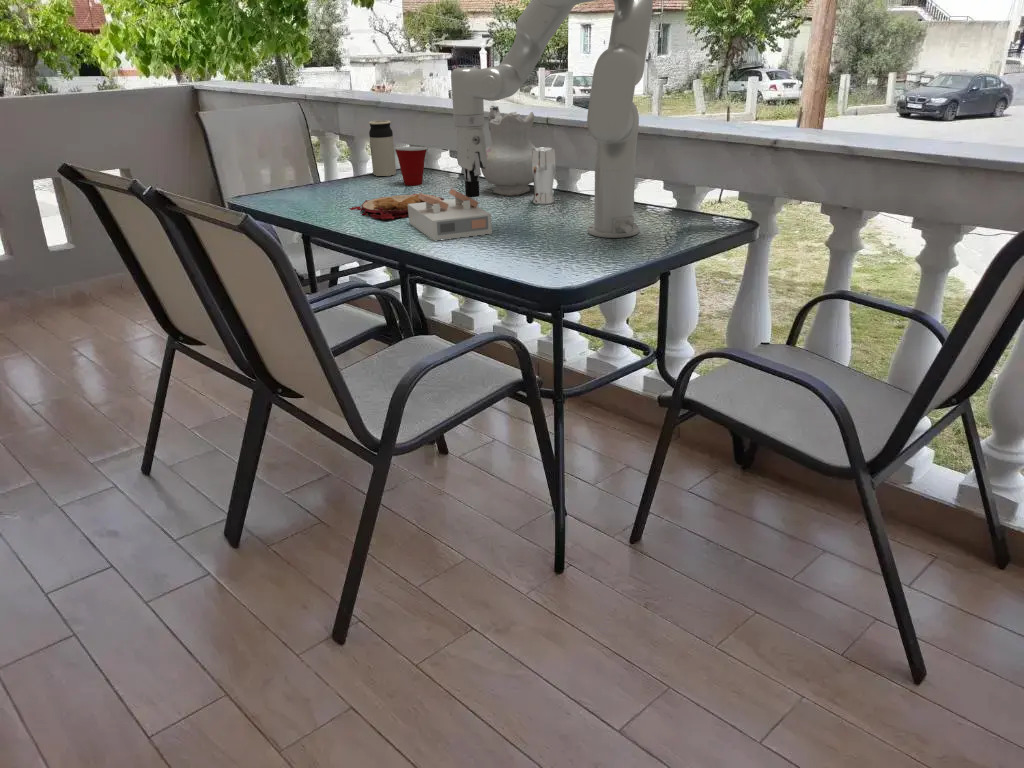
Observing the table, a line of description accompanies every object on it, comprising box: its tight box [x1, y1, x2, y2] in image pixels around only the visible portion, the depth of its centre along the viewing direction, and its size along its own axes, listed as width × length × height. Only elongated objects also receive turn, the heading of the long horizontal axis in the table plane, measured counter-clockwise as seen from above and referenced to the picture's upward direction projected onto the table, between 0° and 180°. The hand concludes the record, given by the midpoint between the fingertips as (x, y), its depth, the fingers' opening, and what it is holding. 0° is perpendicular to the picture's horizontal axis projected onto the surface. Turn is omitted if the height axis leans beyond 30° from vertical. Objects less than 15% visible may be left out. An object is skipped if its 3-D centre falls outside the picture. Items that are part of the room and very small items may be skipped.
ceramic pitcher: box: [480, 105, 537, 197], centre depth 241 cm, size 22×20×25 cm
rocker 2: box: [448, 188, 480, 207], centre depth 201 cm, size 5×7×2 cm
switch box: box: [407, 196, 493, 241], centre depth 201 cm, size 22×15×7 cm
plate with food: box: [348, 193, 445, 220], centre depth 227 cm, size 25×26×4 cm
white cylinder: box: [531, 146, 556, 205], centre depth 226 cm, size 7×7×15 cm
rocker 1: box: [418, 192, 449, 210], centre depth 198 cm, size 5×7×2 cm
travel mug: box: [368, 120, 397, 177], centre depth 274 cm, size 8×8×18 cm
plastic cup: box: [394, 146, 428, 187], centre depth 258 cm, size 11×11×12 cm
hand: (472, 196), depth 202 cm, fingers closed
